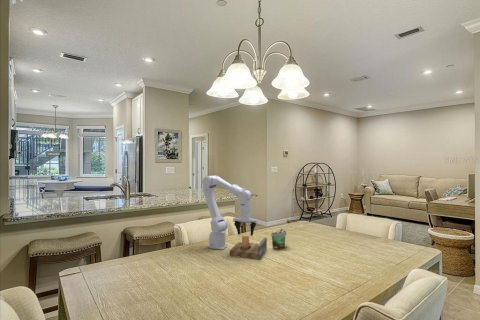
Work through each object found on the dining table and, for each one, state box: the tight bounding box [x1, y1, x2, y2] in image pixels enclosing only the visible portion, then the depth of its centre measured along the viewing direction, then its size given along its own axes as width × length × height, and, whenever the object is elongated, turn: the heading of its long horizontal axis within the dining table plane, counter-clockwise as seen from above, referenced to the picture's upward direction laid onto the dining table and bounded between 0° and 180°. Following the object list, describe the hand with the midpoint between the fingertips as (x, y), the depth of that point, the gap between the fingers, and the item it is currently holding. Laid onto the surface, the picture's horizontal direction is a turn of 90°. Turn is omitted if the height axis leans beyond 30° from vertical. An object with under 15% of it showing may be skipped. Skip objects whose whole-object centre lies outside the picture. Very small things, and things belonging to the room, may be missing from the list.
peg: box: [241, 235, 250, 249], centre depth 151 cm, size 4×4×9 cm
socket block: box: [229, 237, 268, 260], centre depth 151 cm, size 18×16×7 cm
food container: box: [271, 228, 288, 250], centre depth 159 cm, size 12×6×10 cm, turn 143°
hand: (245, 234), depth 152 cm, fingers open, 7 cm apart
